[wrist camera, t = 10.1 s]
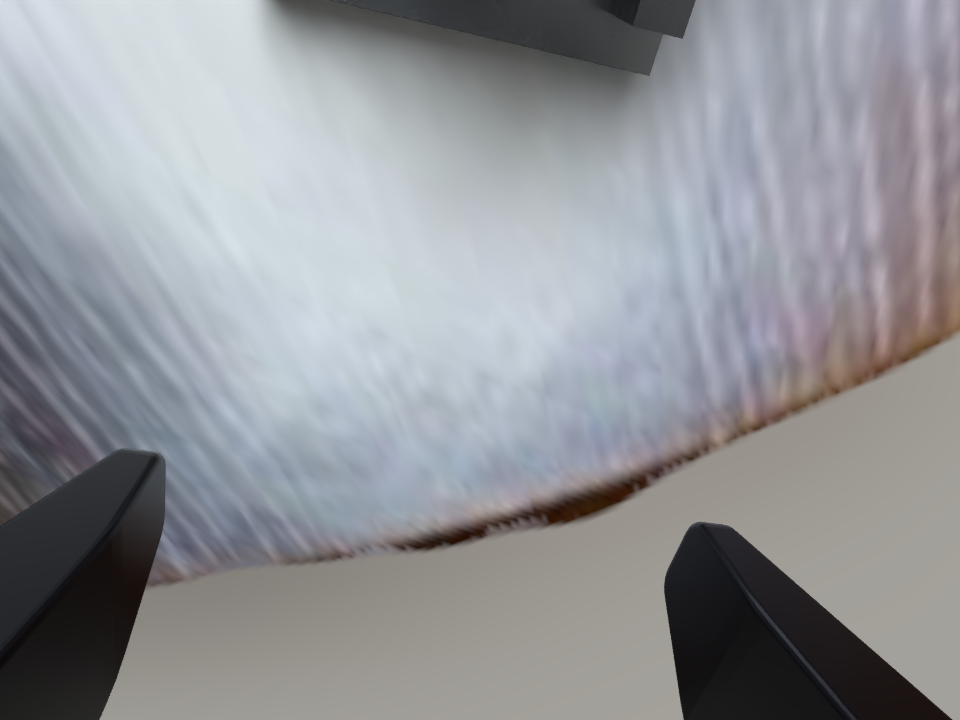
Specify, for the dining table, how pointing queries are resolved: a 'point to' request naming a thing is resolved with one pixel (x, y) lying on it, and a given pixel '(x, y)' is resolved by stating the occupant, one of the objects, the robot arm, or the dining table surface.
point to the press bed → (557, 24)
